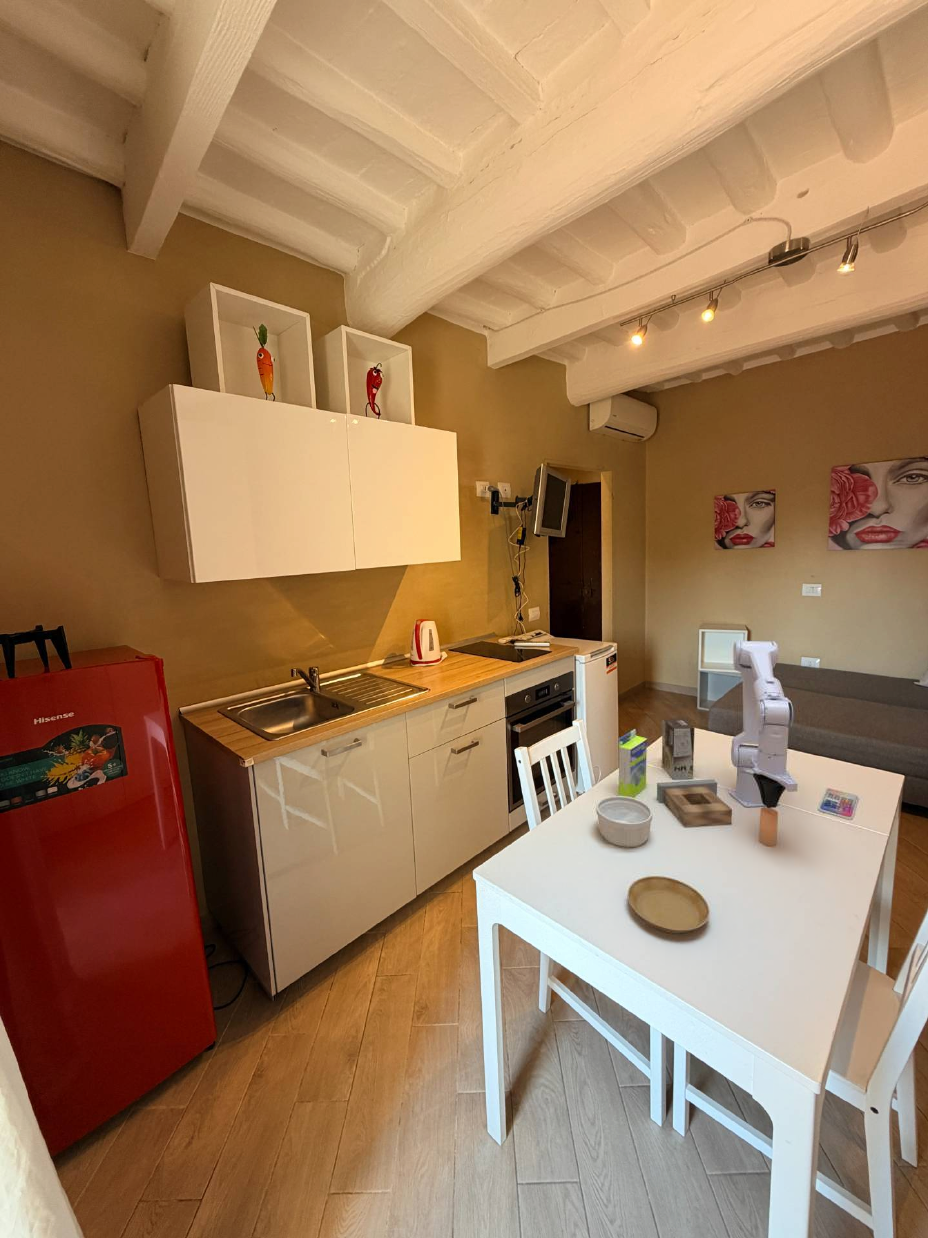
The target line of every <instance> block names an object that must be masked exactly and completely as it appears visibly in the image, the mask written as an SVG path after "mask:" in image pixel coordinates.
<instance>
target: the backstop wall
mask: <svg viewBox="0 0 928 1238" xmlns="http://www.w3.org/2000/svg"><path fill="white" fill-rule="evenodd" d="M706 786H707V787H708V788H709V789H710V790H711V791H712V792H713V793H714V794H715V795H716V796H718V781H716V780H715V779H712V778H711V779H699V780H683V781H682V780H681V781H666V782H665V781H664V782H657V783H656V800H657V801H658V802H659V804H664V789H675V788H691V787H706Z"/></svg>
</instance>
